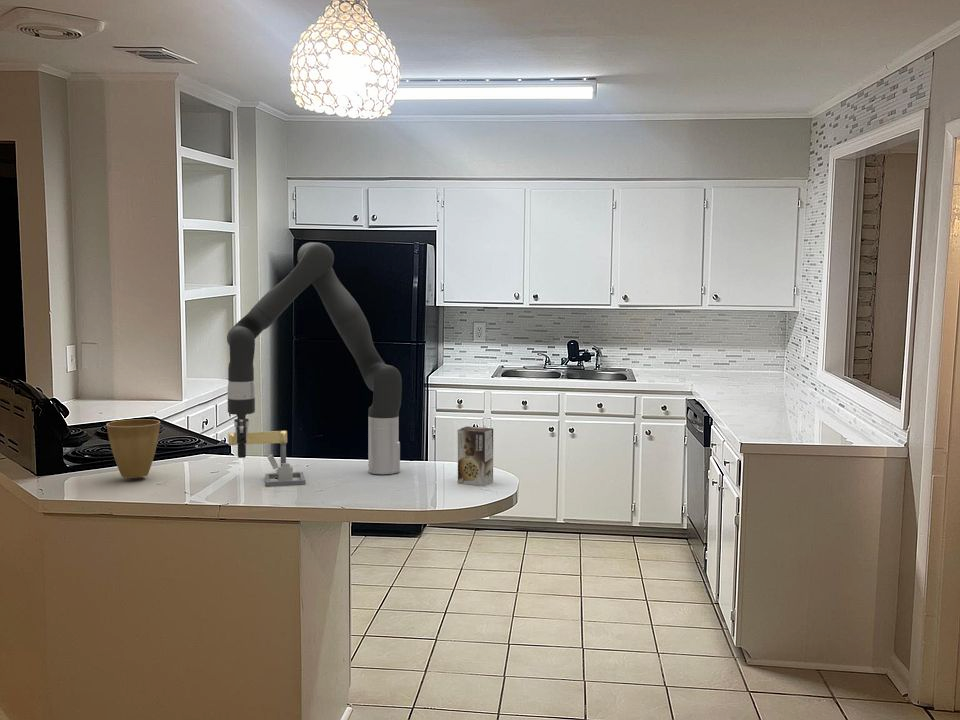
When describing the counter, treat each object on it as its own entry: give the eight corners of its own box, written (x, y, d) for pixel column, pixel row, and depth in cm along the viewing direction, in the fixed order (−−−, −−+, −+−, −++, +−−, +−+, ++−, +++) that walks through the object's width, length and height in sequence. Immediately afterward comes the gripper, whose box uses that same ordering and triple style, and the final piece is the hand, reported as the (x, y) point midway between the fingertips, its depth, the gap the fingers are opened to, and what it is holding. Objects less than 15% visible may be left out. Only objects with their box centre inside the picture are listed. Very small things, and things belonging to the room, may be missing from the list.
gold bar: (287, 443, 263) (287, 431, 263) (228, 445, 258) (228, 434, 258) (286, 441, 266) (286, 430, 265) (228, 444, 261) (228, 432, 260)
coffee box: (493, 482, 257) (494, 428, 256) (484, 486, 251) (485, 431, 250) (466, 478, 261) (466, 425, 259) (456, 483, 255) (457, 428, 254)
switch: (301, 471, 268) (301, 441, 267) (305, 484, 252) (305, 453, 251) (264, 472, 265) (264, 443, 265) (266, 486, 249) (265, 454, 248)
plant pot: (170, 475, 260) (168, 422, 259) (120, 483, 250) (118, 428, 248) (148, 467, 271) (147, 416, 269) (99, 474, 260) (98, 422, 259)
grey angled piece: (292, 480, 256) (292, 453, 256) (292, 481, 255) (292, 454, 254) (268, 480, 256) (267, 453, 255) (267, 482, 254) (267, 455, 253)
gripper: (255, 399, 242) (255, 461, 244) (254, 393, 255) (254, 451, 257) (227, 400, 240) (227, 462, 242) (227, 393, 253) (228, 452, 255)
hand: (241, 456), depth 249 cm, fingers closed
